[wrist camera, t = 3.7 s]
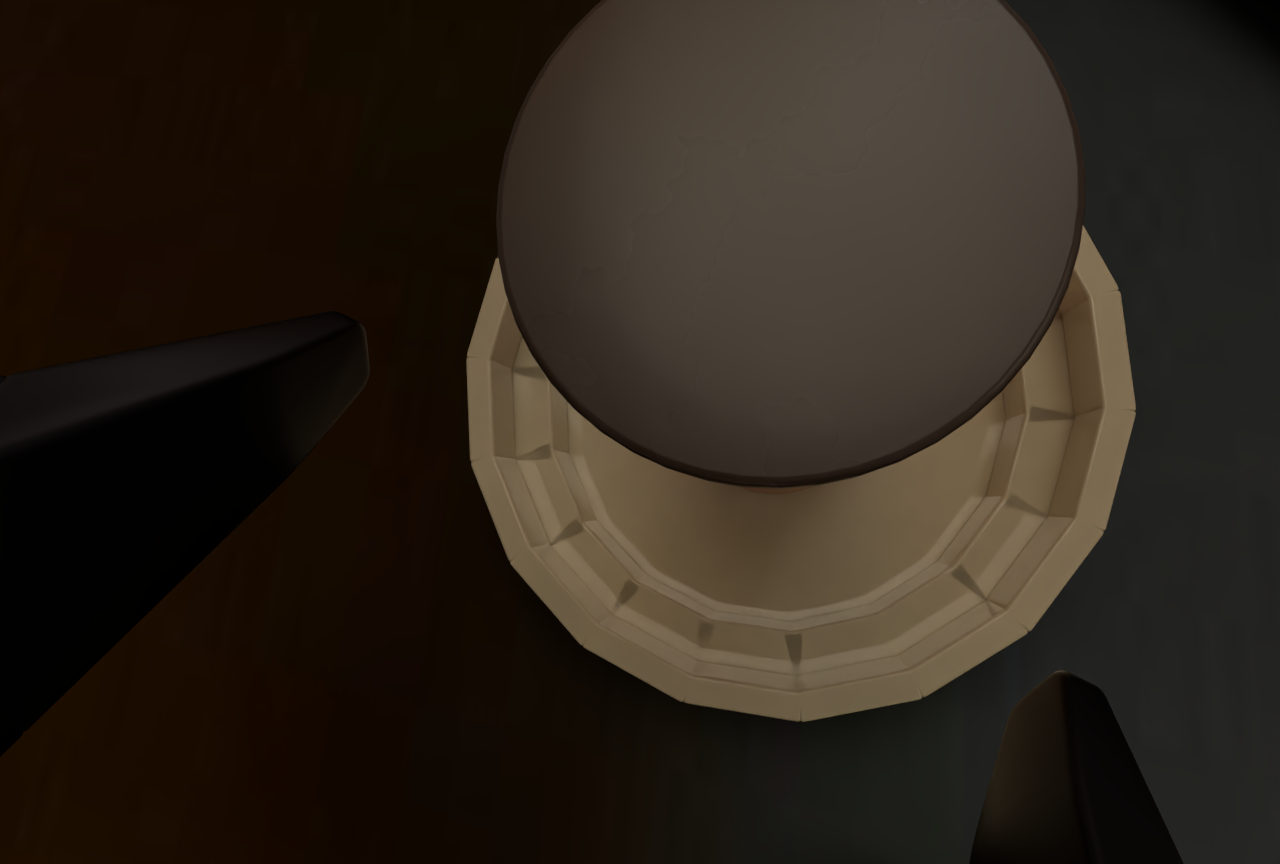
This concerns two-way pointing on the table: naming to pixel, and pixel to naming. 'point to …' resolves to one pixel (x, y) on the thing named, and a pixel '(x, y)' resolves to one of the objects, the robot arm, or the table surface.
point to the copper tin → (789, 227)
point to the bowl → (810, 529)
